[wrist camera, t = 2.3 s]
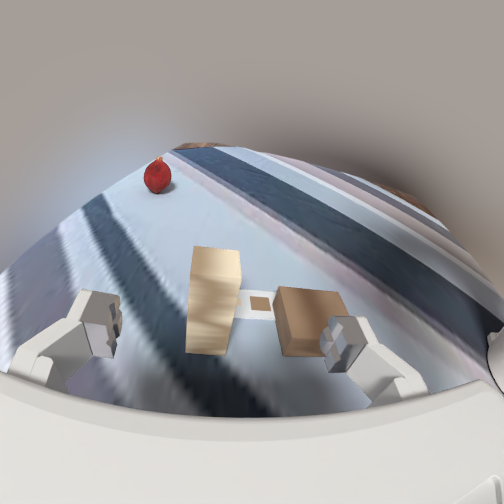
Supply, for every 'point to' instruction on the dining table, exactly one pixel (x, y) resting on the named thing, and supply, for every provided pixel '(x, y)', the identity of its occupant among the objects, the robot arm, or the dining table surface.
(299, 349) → the plinth
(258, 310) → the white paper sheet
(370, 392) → the robot arm
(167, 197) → the dining table surface
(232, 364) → the dining table surface
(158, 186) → the red rounded piece
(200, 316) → the pillar
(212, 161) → the dining table surface
